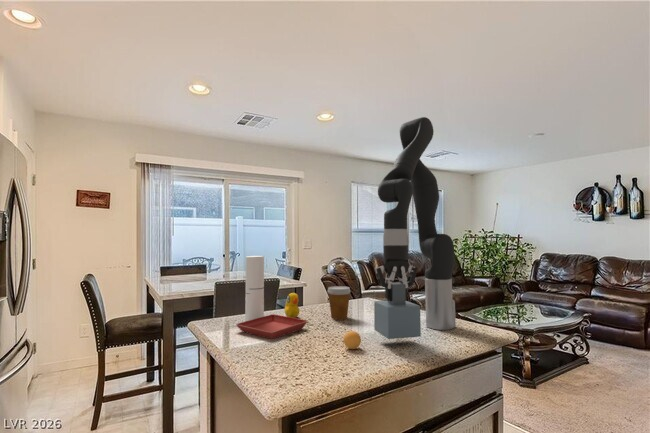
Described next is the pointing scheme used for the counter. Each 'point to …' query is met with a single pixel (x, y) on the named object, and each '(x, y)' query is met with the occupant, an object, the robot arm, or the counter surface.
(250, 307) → the cylindrical container
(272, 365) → the counter surface
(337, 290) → the disposable coffee cup
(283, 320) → the plant saucer
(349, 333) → the ball
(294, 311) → the duckling
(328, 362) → the counter surface
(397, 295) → the grey block
